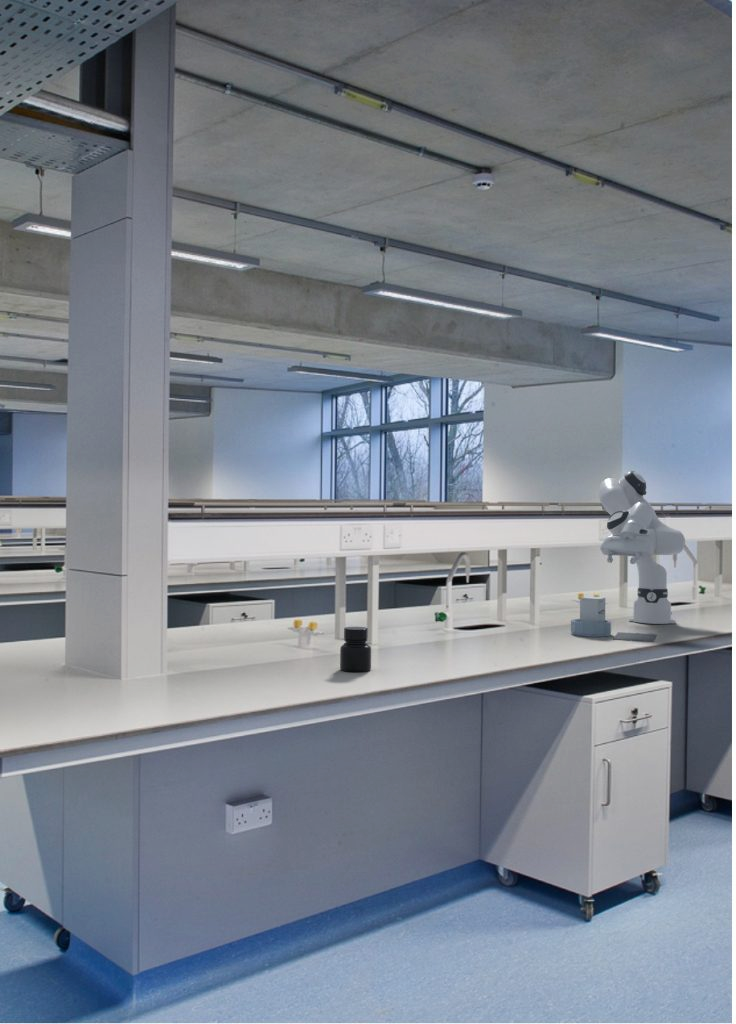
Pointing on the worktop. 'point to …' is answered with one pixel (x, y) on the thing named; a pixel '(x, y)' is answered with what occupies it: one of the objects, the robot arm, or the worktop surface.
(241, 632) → the worktop surface
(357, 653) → the ink bottle
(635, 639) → the mat
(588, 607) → the supplement box
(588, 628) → the bowl
